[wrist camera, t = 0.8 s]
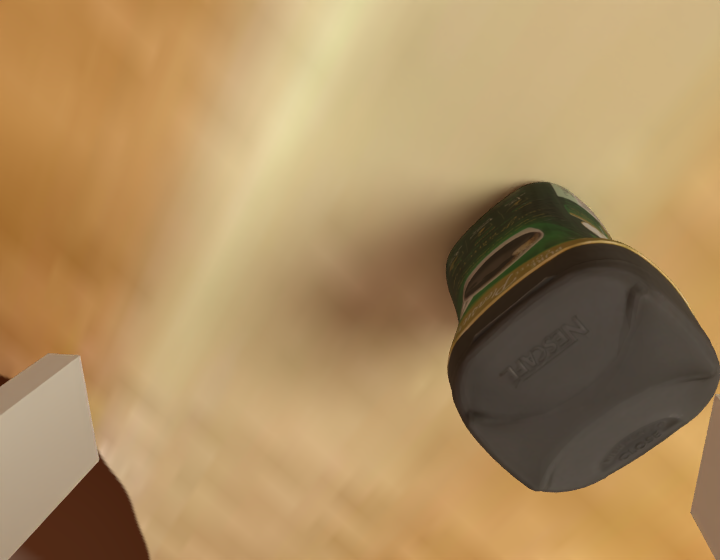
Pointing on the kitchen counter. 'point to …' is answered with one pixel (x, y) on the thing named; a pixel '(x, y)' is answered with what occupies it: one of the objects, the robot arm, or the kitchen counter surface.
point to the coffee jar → (568, 343)
